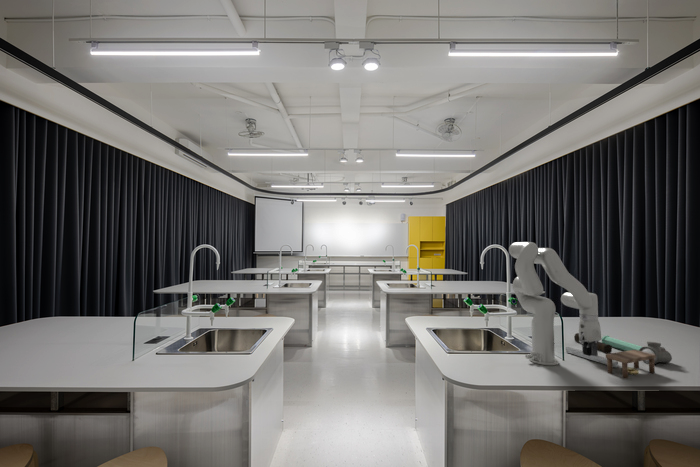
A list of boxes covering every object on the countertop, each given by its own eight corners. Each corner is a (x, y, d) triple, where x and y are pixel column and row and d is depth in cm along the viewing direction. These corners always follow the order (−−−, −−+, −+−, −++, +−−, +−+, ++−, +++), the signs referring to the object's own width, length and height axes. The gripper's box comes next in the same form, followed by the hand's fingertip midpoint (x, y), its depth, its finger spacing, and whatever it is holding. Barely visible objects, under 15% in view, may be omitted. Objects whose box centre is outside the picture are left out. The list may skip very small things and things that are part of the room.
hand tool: (613, 353, 172) (612, 343, 172) (604, 354, 172) (604, 343, 172) (580, 341, 195) (579, 332, 195) (572, 341, 194) (572, 332, 195)
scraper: (614, 367, 151) (613, 349, 151) (564, 351, 173) (564, 335, 174) (619, 366, 152) (618, 348, 152) (569, 351, 174) (569, 335, 175)
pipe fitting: (655, 365, 153) (655, 343, 154) (638, 361, 160) (637, 340, 162) (676, 367, 154) (675, 345, 156) (658, 362, 162) (657, 341, 164)
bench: (626, 379, 139) (625, 360, 139) (606, 372, 146) (605, 354, 147) (656, 373, 145) (655, 354, 145) (635, 366, 153) (634, 349, 153)
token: (629, 375, 143) (629, 371, 143) (621, 371, 148) (620, 367, 148) (641, 375, 143) (641, 371, 143) (632, 371, 148) (632, 367, 148)
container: (656, 347, 163) (607, 333, 188) (647, 352, 162) (599, 337, 187) (659, 357, 163) (611, 342, 188) (651, 363, 162) (603, 347, 187)
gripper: (584, 320, 157) (586, 358, 156) (608, 317, 163) (609, 355, 162) (569, 317, 164) (570, 354, 163) (592, 314, 170) (593, 350, 169)
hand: (590, 354), depth 163 cm, fingers closed on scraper, 3 cm apart
